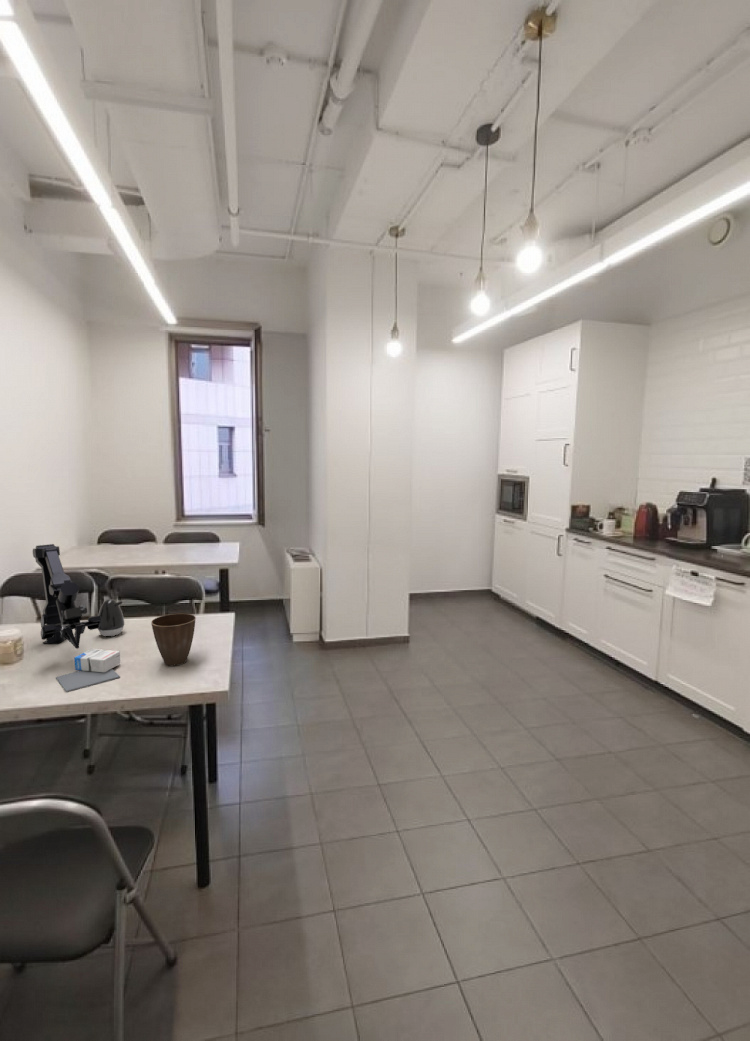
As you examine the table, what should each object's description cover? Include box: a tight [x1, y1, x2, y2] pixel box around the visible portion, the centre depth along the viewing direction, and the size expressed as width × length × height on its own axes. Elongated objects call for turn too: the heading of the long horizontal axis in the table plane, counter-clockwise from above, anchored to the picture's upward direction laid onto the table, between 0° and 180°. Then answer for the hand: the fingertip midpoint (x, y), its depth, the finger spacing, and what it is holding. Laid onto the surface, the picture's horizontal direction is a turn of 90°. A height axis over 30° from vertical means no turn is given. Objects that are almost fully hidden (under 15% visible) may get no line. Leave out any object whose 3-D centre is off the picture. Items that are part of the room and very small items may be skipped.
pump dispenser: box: [97, 598, 125, 637], centre depth 214 cm, size 10×10×15 cm
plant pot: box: [151, 613, 197, 667], centre depth 186 cm, size 15×15×16 cm
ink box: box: [73, 648, 121, 673], centre depth 180 cm, size 9×5×12 cm
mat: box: [55, 668, 121, 693], centre depth 173 cm, size 14×16×1 cm
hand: (77, 647), depth 181 cm, fingers closed
